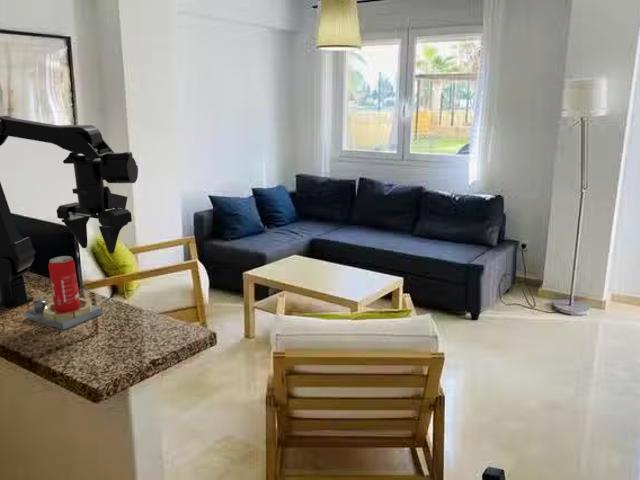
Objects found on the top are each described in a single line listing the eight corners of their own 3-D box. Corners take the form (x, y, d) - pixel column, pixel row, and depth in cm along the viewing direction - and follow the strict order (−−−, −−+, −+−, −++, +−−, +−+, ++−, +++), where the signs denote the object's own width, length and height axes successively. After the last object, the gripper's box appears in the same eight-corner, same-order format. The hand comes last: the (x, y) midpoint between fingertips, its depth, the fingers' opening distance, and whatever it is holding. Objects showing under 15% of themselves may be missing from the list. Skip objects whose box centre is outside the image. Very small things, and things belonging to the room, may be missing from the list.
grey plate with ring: (26, 318, 126) (24, 303, 126) (66, 303, 135) (64, 289, 134) (63, 330, 120) (61, 314, 119) (103, 313, 128) (101, 299, 127)
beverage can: (71, 316, 123) (63, 263, 120) (50, 314, 124) (42, 262, 121) (85, 307, 128) (79, 256, 125) (65, 305, 129) (58, 255, 126)
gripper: (147, 180, 129) (153, 247, 133) (92, 175, 138) (99, 237, 142) (106, 188, 120) (114, 259, 124) (51, 182, 129) (60, 248, 133)
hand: (97, 250), depth 131 cm, fingers open, 9 cm apart
